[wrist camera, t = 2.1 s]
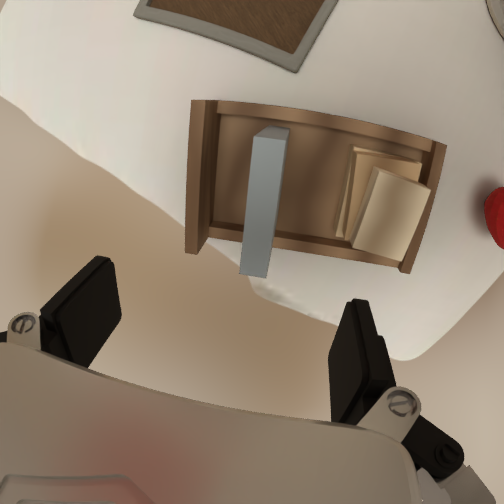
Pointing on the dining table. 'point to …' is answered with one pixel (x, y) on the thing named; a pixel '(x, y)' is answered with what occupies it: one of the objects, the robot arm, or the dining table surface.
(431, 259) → the dining table surface
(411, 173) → the offcut middle
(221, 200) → the tray
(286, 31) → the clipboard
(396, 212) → the offcut top
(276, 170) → the grey square slab
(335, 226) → the offcut bottom
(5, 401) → the robot arm
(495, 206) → the strawberry
